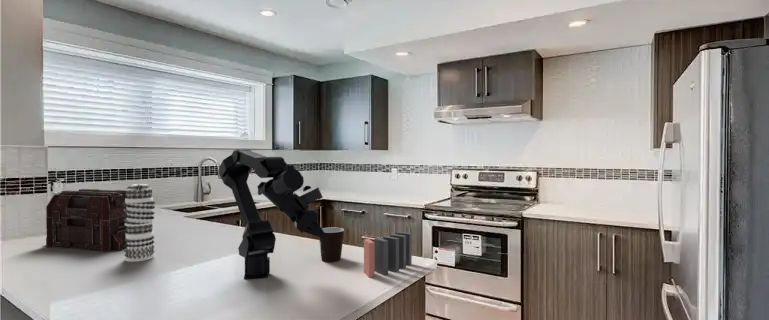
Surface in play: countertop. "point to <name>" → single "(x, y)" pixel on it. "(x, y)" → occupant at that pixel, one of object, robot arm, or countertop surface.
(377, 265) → the domino
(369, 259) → the domino
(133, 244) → the decorative candle
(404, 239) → the domino
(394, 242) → the domino
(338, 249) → the coffee mug
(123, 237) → the crate
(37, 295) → the countertop surface
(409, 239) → the domino
